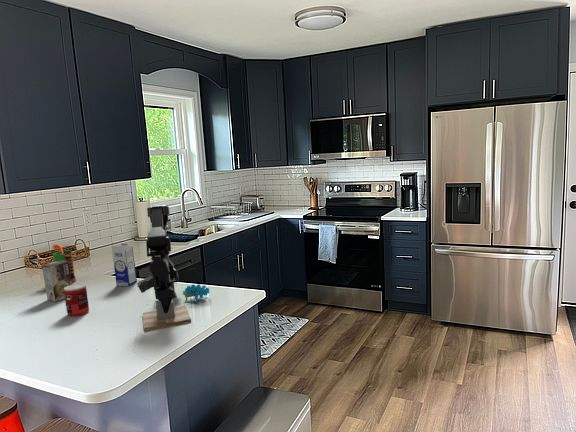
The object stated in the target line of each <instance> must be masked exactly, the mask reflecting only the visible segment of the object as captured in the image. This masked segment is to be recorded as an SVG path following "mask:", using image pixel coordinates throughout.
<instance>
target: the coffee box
mask: <svg viewBox="0 0 576 432" xmlns="http://www.w3.org/2000/svg"><path fill="white" fill-rule="evenodd" d="M41 268H42V274H43V275H42V276H43V280H44V286H45V288H44V289H45V293H46V299H47V301H49V300H51V302H54V301H56V302H58V300H59V301H61V300H65V296H64V288H65V287H67V286H70V285H73V283H72V279H71V273H70V267H69V261H63V260H60V261H56V262H54V261H53V262H49V263H45V264H42V265H41Z"/></svg>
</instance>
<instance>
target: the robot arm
mask: <svg viewBox="0 0 576 432" xmlns="http://www.w3.org/2000/svg"><path fill="white" fill-rule="evenodd" d="M146 210H147V217H148V218H150V219H149V220H150V223H151V229H150V231H148V233H147V238H146V240H145V242H146V245H145V246H146V247H145V248H146V257H147V258H148V257H150V259H151V260H150V261H151V262H150V265H149V271H150V274H151V275H150V276H148V277H146V278H144V279H141V280H140V281H137V282H136V286H137V287H138V290H139V291H140V293H142V294H144V293H145V292H146V291H148V290H151V289H152V288H153V291H154V297H155V300H156V301H158V300H159V301H161V304H162V307H163V310H164V313H168V310H169V307H170V304H171V301H172V300H173V298H177V297H178V295H177V292H176V289H175V283H178V282H179V273H178V271H177V270H176V268H174V267H175V265H174V262H172V260H170V257H169V256H170V252H171V251H172V245H171V239H170V237H169V236H167V230H166V229H167V228H166V227H167V224H168V222H169V216H170V214H171V213H170V207H169V206H168V205H165V204H156V205H151V206H149V207H146Z"/></svg>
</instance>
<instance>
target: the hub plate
mask: <svg viewBox="0 0 576 432" xmlns="http://www.w3.org/2000/svg"><path fill="white" fill-rule="evenodd" d="M174 312H175V317H170V318H165V319H159V320H158V318H157V312H156V310H151V311H146V312H142V320H143V331H144V332H146V331H147V332H148V331H152V330H157V329H163V328H166V327H168V328H169V327H174V326H178V325H184V324H188V323H189V324H190V323H192V318H191V316H190V313H189V310H188V309H187V306H186V305H180V306H179V305H178V306H174Z"/></svg>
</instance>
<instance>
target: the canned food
mask: <svg viewBox="0 0 576 432" xmlns="http://www.w3.org/2000/svg"><path fill="white" fill-rule="evenodd" d="M64 296H65V298H64V300H65V303H64V304H65V307H66V309H65V310H66V314H67V316H69V317H79V316H83V315H86V314H87V313H89V311H90V306H89V298H88V291H87V286H86V283H75V284H74V283H73V284H72V285H70V286H67V287H65V288H64Z"/></svg>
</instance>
